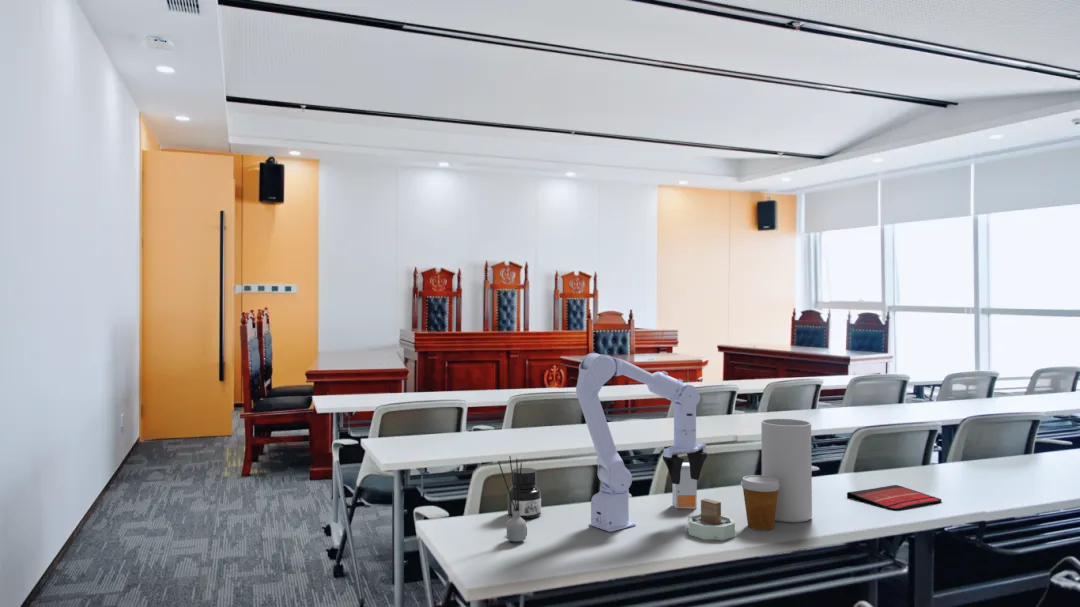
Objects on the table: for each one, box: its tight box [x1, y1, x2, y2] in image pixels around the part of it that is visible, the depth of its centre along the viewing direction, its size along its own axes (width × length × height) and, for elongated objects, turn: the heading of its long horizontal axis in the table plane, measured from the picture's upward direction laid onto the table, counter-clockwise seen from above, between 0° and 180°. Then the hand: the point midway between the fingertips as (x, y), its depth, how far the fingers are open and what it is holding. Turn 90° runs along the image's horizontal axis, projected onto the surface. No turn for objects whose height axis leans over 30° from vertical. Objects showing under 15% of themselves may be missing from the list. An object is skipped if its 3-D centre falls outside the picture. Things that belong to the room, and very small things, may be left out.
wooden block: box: [700, 498, 722, 526], centre depth 174 cm, size 2×4×7 cm, turn 39°
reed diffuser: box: [497, 455, 528, 542], centre depth 168 cm, size 10×7×20 cm
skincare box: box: [671, 462, 698, 510], centre depth 197 cm, size 6×4×12 cm
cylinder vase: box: [761, 418, 813, 523], centre depth 188 cm, size 12×12×25 cm
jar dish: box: [686, 512, 736, 541], centre depth 174 cm, size 11×11×3 cm
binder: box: [846, 484, 942, 512], centre depth 204 cm, size 16×2×21 cm
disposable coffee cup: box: [740, 474, 780, 531], centre depth 179 cm, size 10×10×12 cm
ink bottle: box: [507, 467, 542, 520], centre depth 190 cm, size 10×9×12 cm
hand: (685, 481), depth 186 cm, fingers open, 7 cm apart
